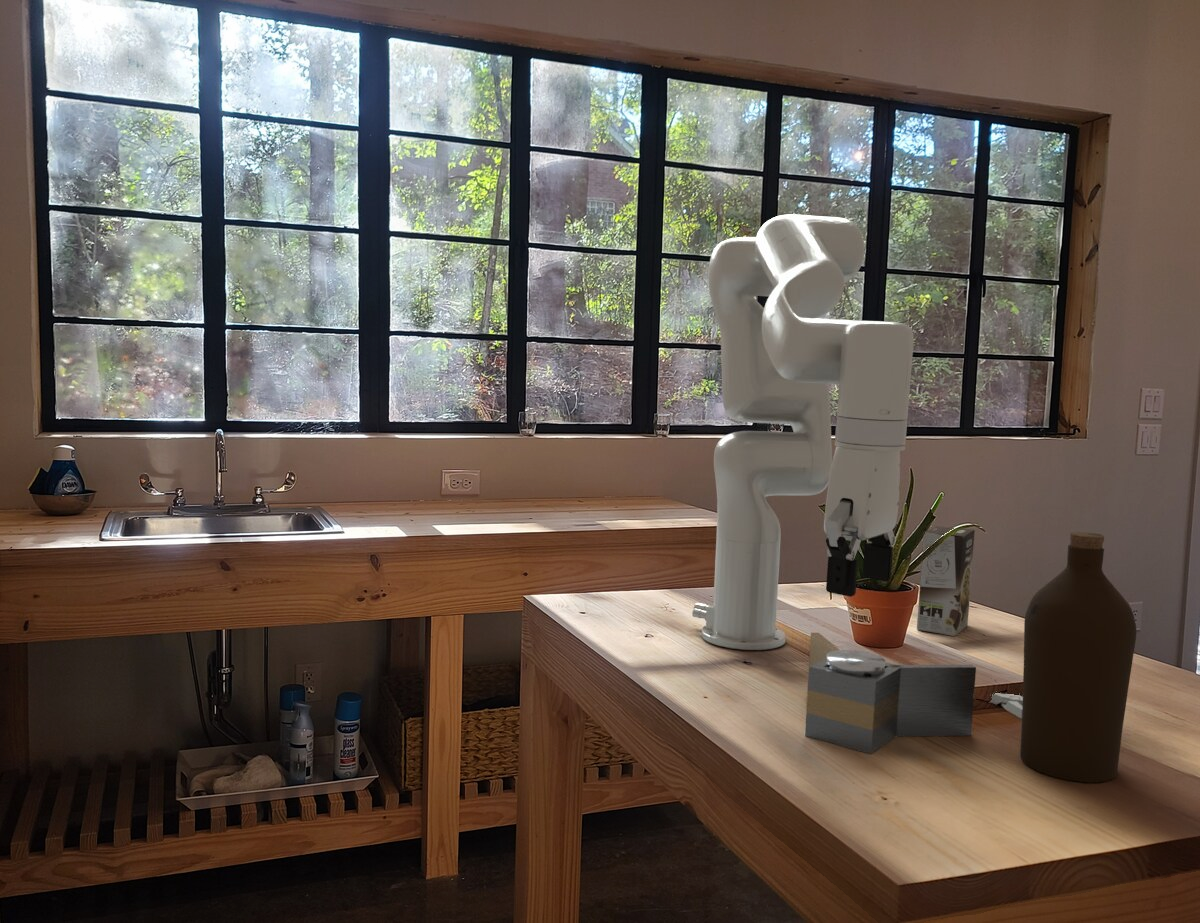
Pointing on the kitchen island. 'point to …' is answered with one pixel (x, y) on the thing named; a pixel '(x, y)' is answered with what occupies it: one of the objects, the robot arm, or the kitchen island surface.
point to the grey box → (886, 701)
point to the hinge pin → (855, 662)
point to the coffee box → (946, 582)
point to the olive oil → (1076, 669)
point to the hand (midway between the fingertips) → (859, 586)
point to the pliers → (1009, 703)
